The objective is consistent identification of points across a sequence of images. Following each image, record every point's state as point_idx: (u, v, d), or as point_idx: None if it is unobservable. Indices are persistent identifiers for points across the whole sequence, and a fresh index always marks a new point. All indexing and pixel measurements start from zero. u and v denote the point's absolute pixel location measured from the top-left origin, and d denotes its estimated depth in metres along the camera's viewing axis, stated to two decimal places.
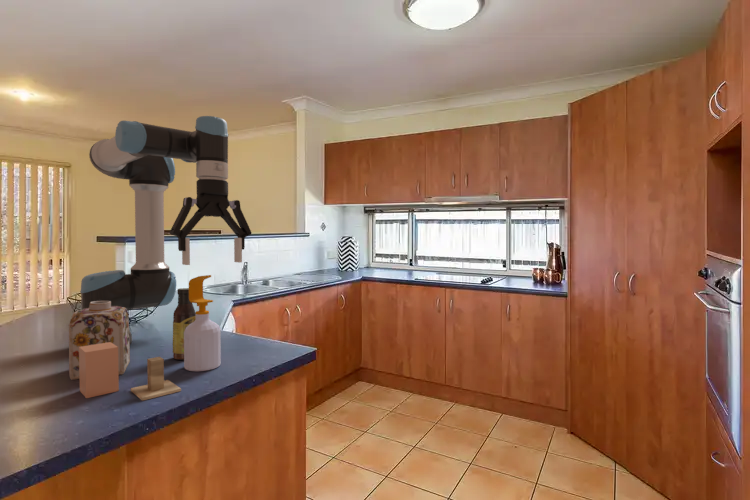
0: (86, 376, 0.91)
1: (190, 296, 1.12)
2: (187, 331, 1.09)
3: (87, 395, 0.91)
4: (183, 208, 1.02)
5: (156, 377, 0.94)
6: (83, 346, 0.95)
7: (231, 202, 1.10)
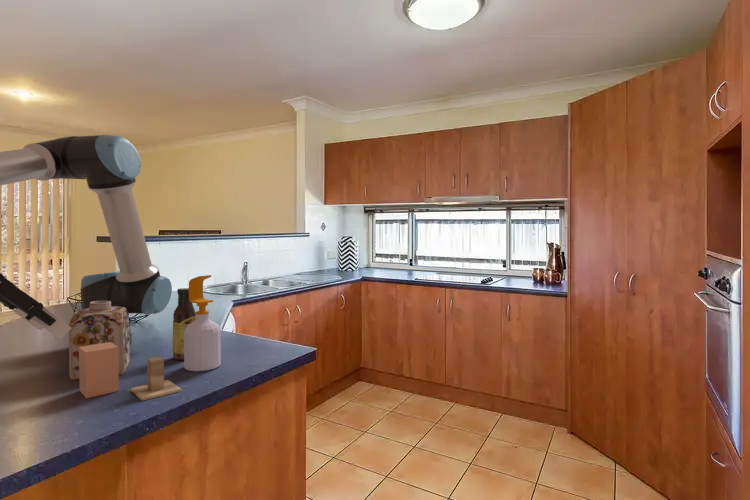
0: (86, 376, 0.91)
1: (190, 296, 1.12)
2: (187, 331, 1.09)
3: (87, 395, 0.91)
4: None
5: (156, 377, 0.94)
6: (83, 346, 0.95)
7: None
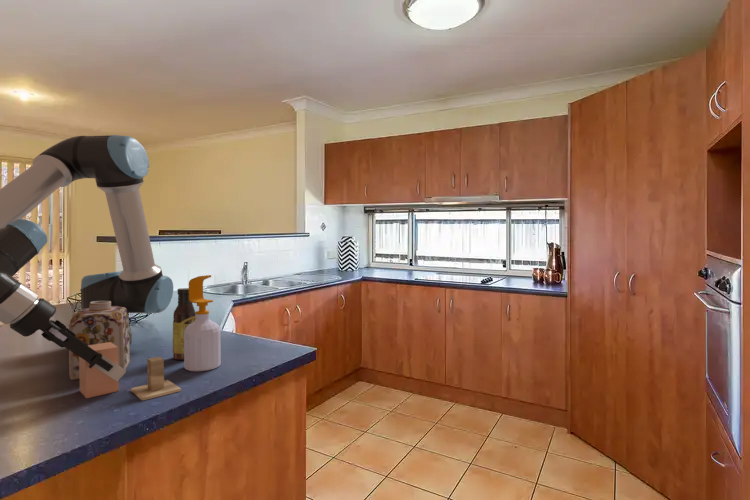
0: (86, 376, 0.91)
1: (190, 296, 1.12)
2: (187, 331, 1.09)
3: (87, 395, 0.91)
4: None
5: (156, 377, 0.94)
6: None
7: (54, 334, 0.85)
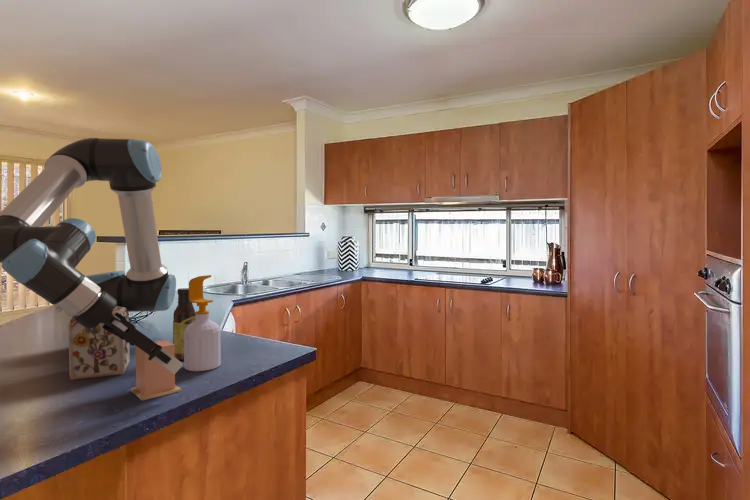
0: (145, 373, 0.91)
1: (190, 296, 1.12)
2: (187, 331, 1.09)
3: (146, 392, 0.91)
4: None
5: None
6: None
7: None
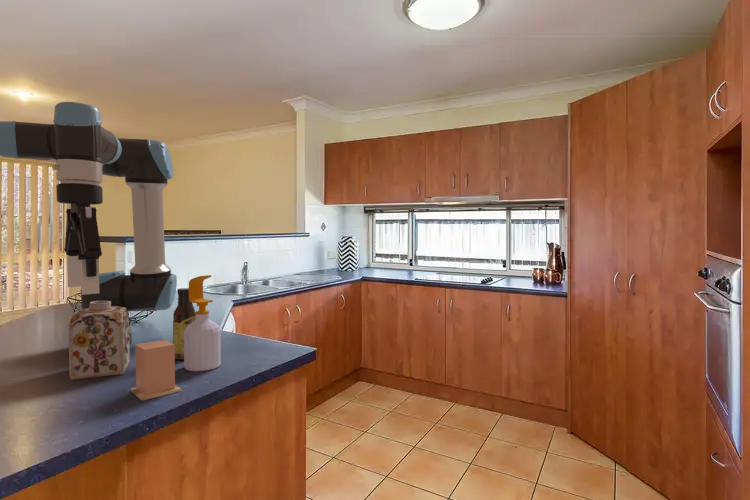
0: (145, 373, 0.91)
1: (190, 296, 1.12)
2: (187, 331, 1.09)
3: (146, 392, 0.91)
4: None
5: None
6: (139, 344, 0.95)
7: None
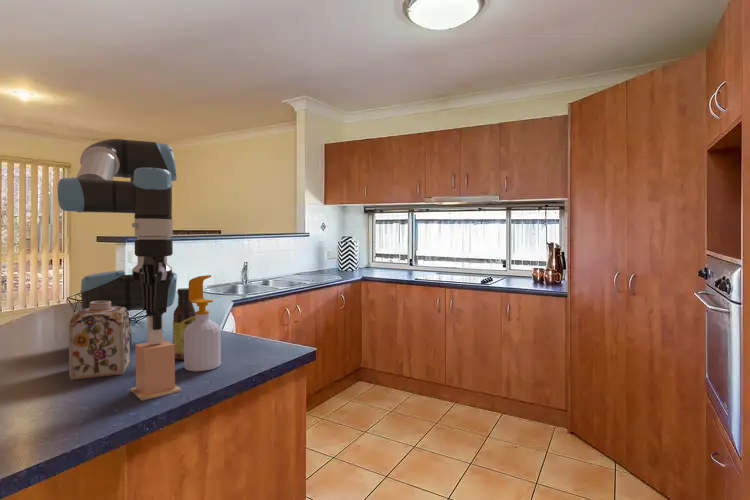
0: (145, 373, 0.91)
1: (190, 296, 1.12)
2: (186, 331, 1.09)
3: (146, 392, 0.91)
4: None
5: None
6: (139, 344, 0.95)
7: (159, 269, 0.91)
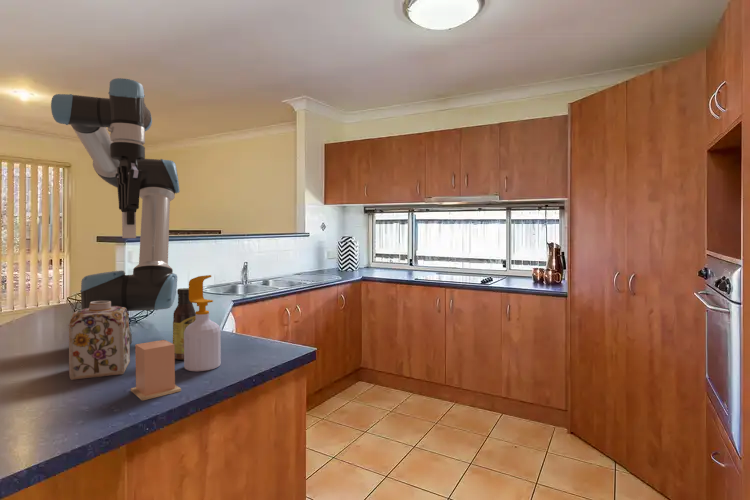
0: (145, 373, 0.91)
1: (190, 296, 1.12)
2: (187, 331, 1.09)
3: (146, 392, 0.91)
4: None
5: None
6: (139, 344, 0.95)
7: (132, 168, 1.03)
